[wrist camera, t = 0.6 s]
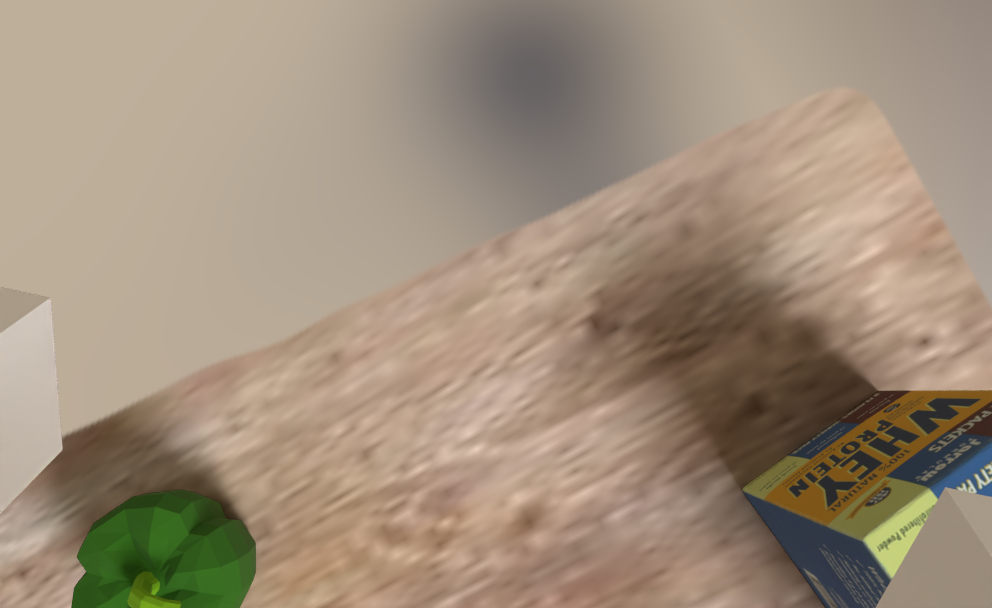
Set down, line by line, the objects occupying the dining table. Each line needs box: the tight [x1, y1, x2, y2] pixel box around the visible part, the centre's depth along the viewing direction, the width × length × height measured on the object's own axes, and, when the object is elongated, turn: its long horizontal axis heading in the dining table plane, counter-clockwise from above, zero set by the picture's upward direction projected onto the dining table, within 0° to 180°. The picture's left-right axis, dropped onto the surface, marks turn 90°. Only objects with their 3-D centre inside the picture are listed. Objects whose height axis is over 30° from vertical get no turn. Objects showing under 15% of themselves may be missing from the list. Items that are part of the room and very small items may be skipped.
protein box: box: [742, 390, 992, 608], centre depth 37 cm, size 10×15×16 cm
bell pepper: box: [71, 490, 256, 608], centre depth 40 cm, size 8×8×10 cm
